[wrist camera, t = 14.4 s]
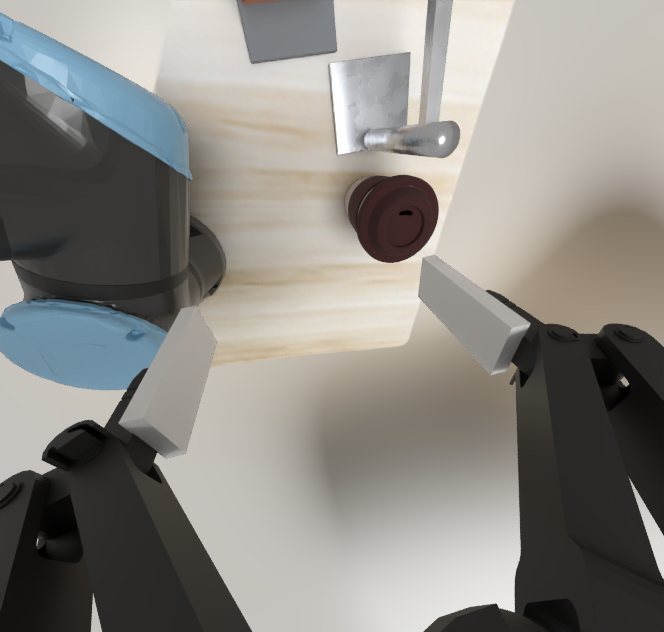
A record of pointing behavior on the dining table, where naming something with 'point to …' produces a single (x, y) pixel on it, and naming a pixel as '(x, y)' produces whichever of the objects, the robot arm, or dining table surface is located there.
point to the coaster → (288, 29)
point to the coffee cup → (392, 215)
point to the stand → (395, 98)
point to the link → (257, 1)
